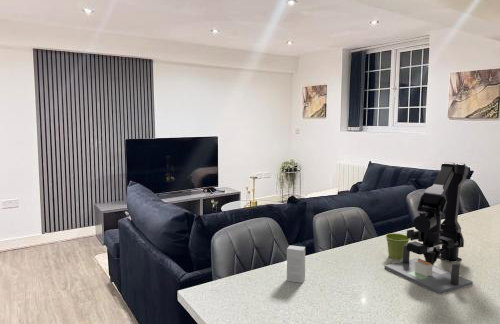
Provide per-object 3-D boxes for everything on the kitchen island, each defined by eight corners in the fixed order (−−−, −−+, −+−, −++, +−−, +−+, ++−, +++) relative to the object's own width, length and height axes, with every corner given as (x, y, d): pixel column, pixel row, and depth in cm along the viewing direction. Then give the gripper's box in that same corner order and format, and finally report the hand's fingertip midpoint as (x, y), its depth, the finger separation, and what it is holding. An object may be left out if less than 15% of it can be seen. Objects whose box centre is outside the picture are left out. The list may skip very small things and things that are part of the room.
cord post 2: (453, 281, 133) (454, 262, 132) (460, 284, 131) (461, 264, 130) (448, 283, 132) (450, 263, 131) (455, 285, 130) (456, 266, 129)
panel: (416, 261, 155) (416, 258, 155) (472, 284, 133) (472, 281, 133) (384, 268, 148) (384, 265, 147) (438, 294, 126) (439, 290, 126)
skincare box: (305, 278, 138) (305, 246, 137) (303, 283, 134) (303, 250, 133) (288, 276, 140) (289, 244, 139) (286, 281, 136) (286, 248, 135)
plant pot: (410, 261, 154) (411, 241, 153) (386, 260, 156) (387, 239, 155) (406, 253, 163) (407, 234, 162) (383, 252, 165) (383, 232, 164)
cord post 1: (405, 261, 152) (406, 244, 151) (410, 263, 150) (411, 245, 149) (401, 262, 151) (402, 245, 150) (406, 264, 149) (406, 246, 148)
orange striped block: (420, 270, 142) (421, 257, 142) (432, 275, 138) (432, 262, 137) (414, 271, 141) (415, 259, 141) (426, 276, 137) (426, 263, 136)
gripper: (430, 218, 150) (428, 256, 152) (395, 223, 142) (393, 264, 144) (456, 225, 140) (454, 266, 142) (420, 231, 132) (418, 275, 134)
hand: (429, 267), depth 141 cm, fingers closed
